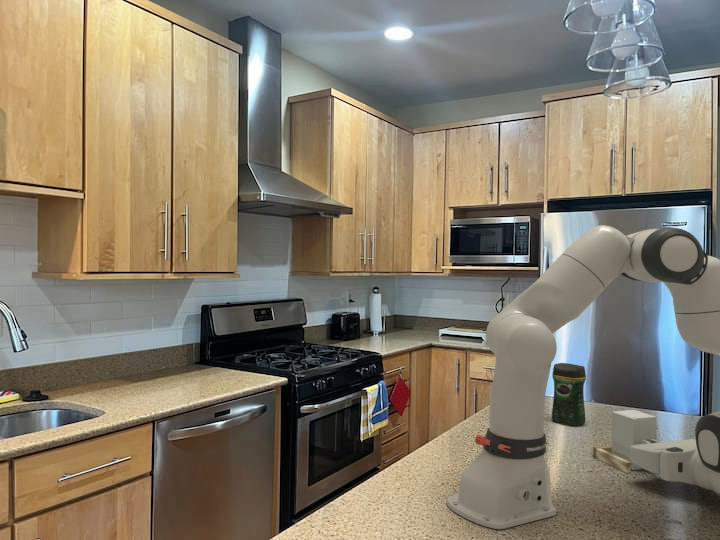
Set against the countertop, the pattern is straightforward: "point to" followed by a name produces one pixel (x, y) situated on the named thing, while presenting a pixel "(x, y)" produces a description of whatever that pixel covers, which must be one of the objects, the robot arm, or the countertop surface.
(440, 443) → the countertop surface
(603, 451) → the corral
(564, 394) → the coffee jar
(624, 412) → the supplement box
